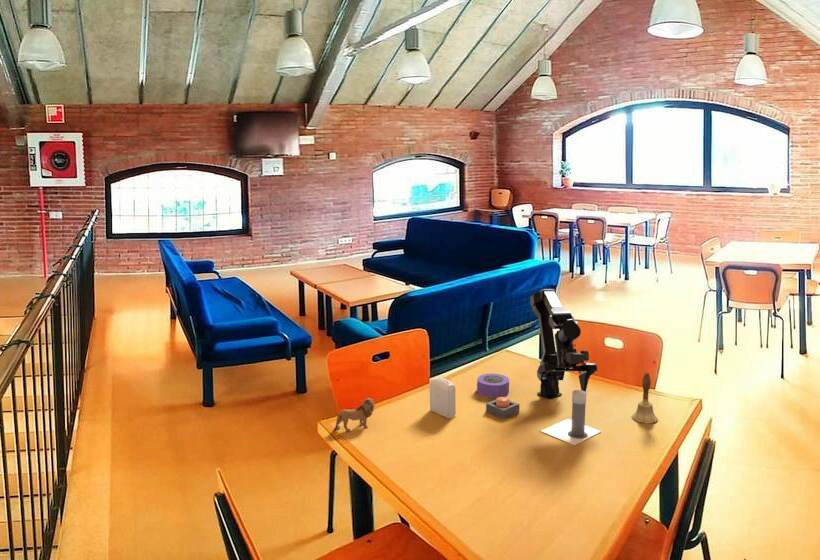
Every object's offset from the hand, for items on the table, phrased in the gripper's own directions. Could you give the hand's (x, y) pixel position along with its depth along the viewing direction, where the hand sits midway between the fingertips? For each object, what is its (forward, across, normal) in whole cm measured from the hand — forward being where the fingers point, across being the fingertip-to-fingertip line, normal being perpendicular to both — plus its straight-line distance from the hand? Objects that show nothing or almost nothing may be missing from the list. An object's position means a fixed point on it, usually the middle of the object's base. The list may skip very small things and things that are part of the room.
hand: (571, 394), depth 216 cm
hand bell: (+8, +27, +3) cm, 28 cm away
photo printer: (+2, -36, +24) cm, 44 cm away
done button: (+2, -16, +19) cm, 25 cm away
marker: (+13, 0, -1) cm, 13 cm away
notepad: (+12, -1, +2) cm, 12 cm away
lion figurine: (+6, -67, +23) cm, 71 cm away
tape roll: (-8, -13, +35) cm, 38 cm away
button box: (+2, -16, +19) cm, 25 cm away
